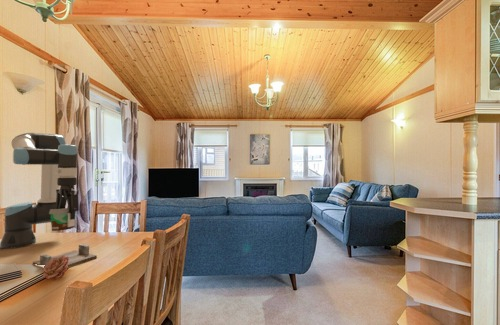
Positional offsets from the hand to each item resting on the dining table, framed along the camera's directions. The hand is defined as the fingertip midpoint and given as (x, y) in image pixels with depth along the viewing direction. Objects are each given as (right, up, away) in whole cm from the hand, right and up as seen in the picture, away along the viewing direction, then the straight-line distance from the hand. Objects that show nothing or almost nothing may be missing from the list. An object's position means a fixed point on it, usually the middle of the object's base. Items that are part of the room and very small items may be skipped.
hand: (66, 225), depth 118 cm
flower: (+9, -17, -18) cm, 26 cm away
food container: (0, -2, 0) cm, 2 cm away
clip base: (0, -17, 0) cm, 17 cm away
